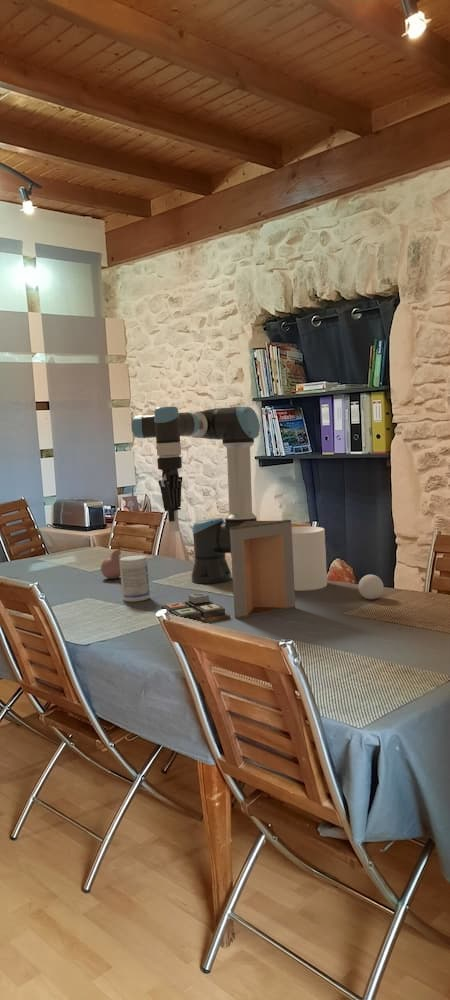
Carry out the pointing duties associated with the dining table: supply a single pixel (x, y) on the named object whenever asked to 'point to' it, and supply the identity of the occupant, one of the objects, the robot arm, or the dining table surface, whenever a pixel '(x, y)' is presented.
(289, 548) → the cabinet
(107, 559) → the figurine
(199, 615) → the keypad board
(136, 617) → the dining table surface
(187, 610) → the key sage
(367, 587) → the ball
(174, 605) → the key terracotta
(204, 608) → the key cream
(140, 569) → the supplement tub
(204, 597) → the key slate
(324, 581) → the canister
